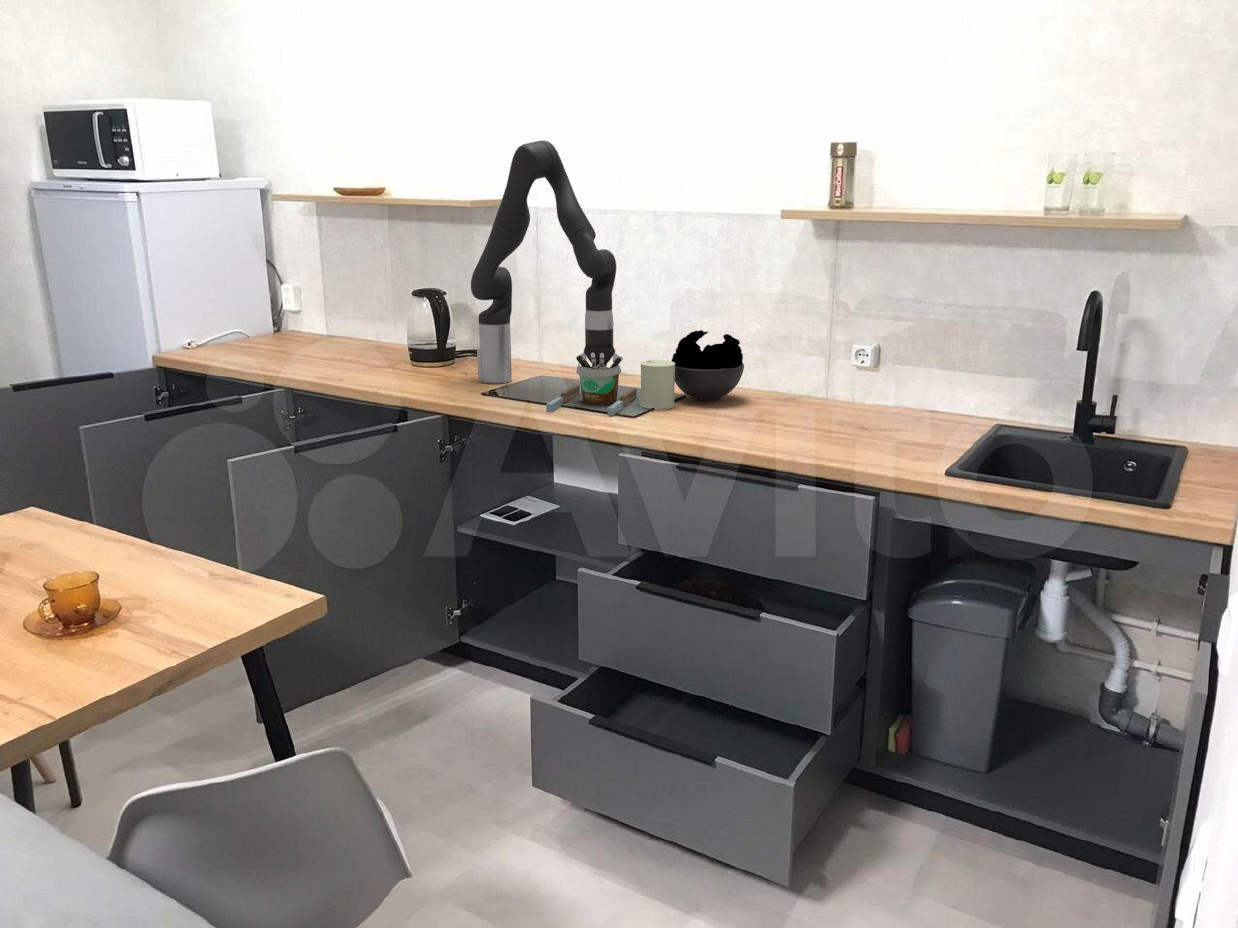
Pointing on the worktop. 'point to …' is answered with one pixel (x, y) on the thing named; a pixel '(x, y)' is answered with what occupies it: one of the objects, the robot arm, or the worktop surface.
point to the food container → (599, 384)
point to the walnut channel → (575, 391)
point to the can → (657, 384)
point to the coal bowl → (707, 367)
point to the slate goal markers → (559, 402)
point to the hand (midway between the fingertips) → (599, 390)
